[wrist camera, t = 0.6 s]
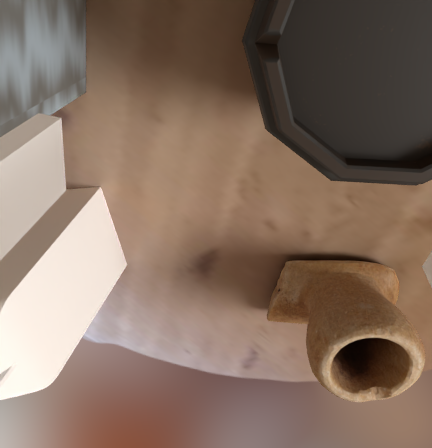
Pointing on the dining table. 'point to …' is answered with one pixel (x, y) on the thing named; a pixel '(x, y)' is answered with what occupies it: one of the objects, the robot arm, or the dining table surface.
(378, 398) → the stone cup
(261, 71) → the black octagonal canister
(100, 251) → the milk
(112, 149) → the dining table surface
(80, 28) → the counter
